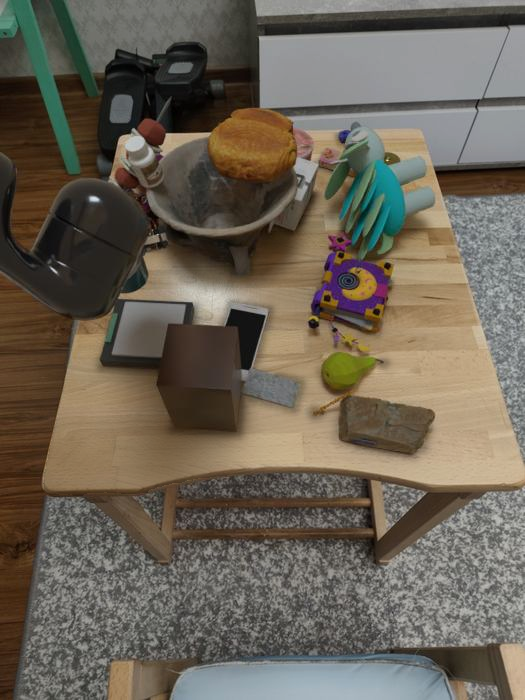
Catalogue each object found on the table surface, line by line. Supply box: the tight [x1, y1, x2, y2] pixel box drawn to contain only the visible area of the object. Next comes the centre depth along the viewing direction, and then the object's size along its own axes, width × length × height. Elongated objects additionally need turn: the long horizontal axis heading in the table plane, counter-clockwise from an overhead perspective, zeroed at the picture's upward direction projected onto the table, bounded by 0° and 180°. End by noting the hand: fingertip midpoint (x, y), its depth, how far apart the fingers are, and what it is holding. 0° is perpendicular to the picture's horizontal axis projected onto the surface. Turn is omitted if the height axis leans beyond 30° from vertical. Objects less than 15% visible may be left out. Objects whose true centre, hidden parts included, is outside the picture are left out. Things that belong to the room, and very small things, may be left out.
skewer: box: [107, 96, 172, 193], centre depth 95 cm, size 5×5×30 cm
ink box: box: [267, 157, 320, 234], centre depth 97 cm, size 8×5×15 cm
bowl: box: [145, 136, 298, 278], centre depth 90 cm, size 27×26×15 cm
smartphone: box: [223, 301, 270, 383], centre depth 84 cm, size 7×16×1 cm, turn 167°
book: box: [307, 231, 396, 352], centre depth 84 cm, size 14×25×12 cm, turn 162°
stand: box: [155, 323, 243, 432], centre depth 72 cm, size 10×10×15 cm
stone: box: [338, 394, 436, 455], centre depth 73 cm, size 14×7×5 cm, turn 78°
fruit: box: [321, 351, 385, 390], centre depth 79 cm, size 6×6×12 cm
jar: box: [121, 256, 150, 294], centre depth 68 cm, size 6×6×8 cm
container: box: [293, 127, 315, 161], centre depth 103 cm, size 10×10×8 cm
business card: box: [240, 367, 301, 408], centre depth 79 cm, size 9×5×1 cm, turn 74°
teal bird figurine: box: [324, 121, 436, 261], centre depth 91 cm, size 14×26×18 cm
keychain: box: [312, 390, 355, 416], centre depth 75 cm, size 8×1×1 cm
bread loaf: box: [207, 107, 297, 183], centre depth 82 cm, size 14×16×8 cm
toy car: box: [124, 188, 159, 223], centre depth 95 cm, size 6×12×5 cm
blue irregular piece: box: [337, 129, 351, 144], centre depth 112 cm, size 9×5×3 cm, turn 40°
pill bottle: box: [124, 136, 164, 188], centre depth 80 cm, size 4×4×8 cm
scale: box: [99, 298, 195, 370], centre depth 84 cm, size 14×13×3 cm
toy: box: [317, 147, 357, 178], centre depth 107 cm, size 12×2×5 cm
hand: (117, 249), depth 68 cm, fingers closed on jar, 6 cm apart
